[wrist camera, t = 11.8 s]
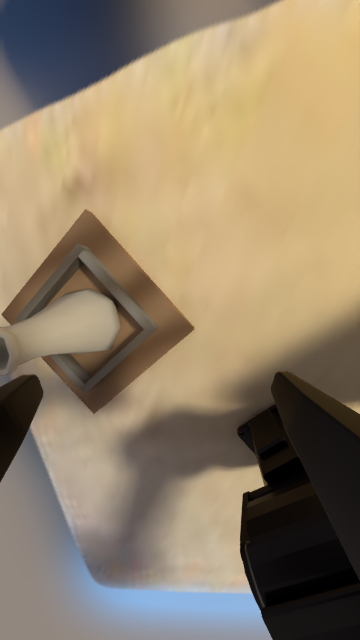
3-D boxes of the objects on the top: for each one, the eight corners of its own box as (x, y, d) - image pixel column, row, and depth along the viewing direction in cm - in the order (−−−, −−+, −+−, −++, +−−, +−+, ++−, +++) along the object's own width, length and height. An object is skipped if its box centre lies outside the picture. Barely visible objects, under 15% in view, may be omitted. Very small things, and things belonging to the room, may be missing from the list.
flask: (119, 358, 21) (44, 419, 12) (60, 346, 22) (-55, 394, 13) (124, 292, 20) (43, 300, 10) (60, 283, 21) (-69, 282, 11)
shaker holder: (194, 327, 21) (192, 333, 18) (98, 408, 24) (86, 422, 22) (91, 212, 20) (75, 202, 18) (9, 313, 24) (-13, 316, 21)
